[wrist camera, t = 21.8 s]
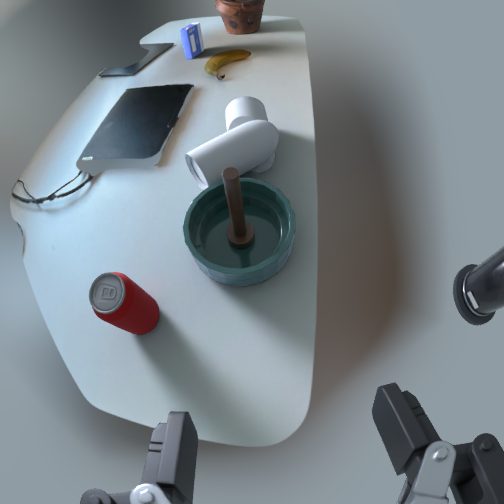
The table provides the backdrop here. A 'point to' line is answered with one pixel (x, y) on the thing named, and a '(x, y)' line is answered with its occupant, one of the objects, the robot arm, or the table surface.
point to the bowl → (256, 212)
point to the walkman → (192, 40)
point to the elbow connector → (236, 144)
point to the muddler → (236, 212)
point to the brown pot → (241, 15)
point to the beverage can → (123, 303)
